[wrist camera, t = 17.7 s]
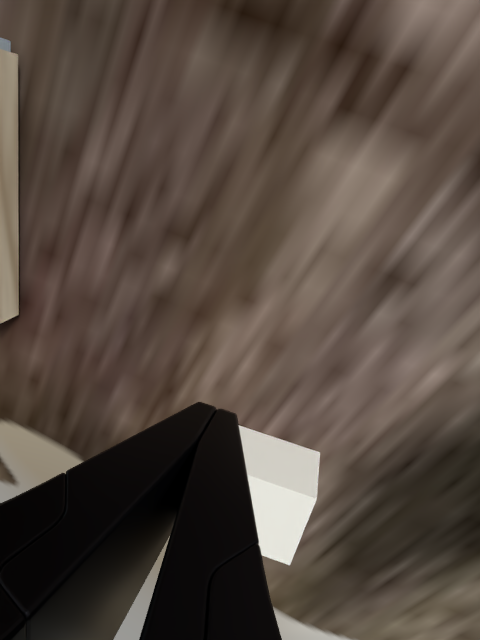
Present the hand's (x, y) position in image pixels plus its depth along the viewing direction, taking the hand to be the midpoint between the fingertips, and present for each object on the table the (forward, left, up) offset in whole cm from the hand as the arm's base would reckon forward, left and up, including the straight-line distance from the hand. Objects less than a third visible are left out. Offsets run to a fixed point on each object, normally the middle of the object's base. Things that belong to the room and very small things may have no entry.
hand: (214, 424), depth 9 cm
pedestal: (-2, +12, -12) cm, 17 cm away
